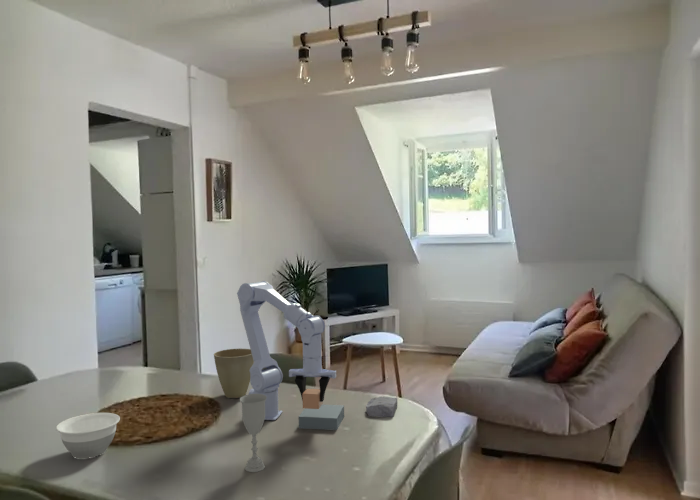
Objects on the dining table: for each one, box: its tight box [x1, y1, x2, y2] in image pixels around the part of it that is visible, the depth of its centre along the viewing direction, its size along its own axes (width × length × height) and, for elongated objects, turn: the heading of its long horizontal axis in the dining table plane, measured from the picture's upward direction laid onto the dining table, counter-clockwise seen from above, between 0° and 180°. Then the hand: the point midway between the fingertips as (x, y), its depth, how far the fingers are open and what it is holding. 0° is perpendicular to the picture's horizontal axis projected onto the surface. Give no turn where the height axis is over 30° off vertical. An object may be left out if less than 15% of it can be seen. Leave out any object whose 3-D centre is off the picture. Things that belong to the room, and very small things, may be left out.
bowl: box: [55, 412, 121, 458], centre depth 148 cm, size 16×16×8 cm
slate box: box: [298, 403, 345, 431], centre depth 169 cm, size 12×12×4 cm
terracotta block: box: [301, 388, 324, 409], centre depth 164 cm, size 5×5×4 cm
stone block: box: [365, 395, 398, 418], centre depth 179 cm, size 12×5×10 cm
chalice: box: [239, 393, 267, 473], centre depth 137 cm, size 7×7×18 cm
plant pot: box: [213, 348, 254, 399], centre depth 198 cm, size 15×15×16 cm
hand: (313, 400), depth 164 cm, fingers closed on terracotta block, 5 cm apart
